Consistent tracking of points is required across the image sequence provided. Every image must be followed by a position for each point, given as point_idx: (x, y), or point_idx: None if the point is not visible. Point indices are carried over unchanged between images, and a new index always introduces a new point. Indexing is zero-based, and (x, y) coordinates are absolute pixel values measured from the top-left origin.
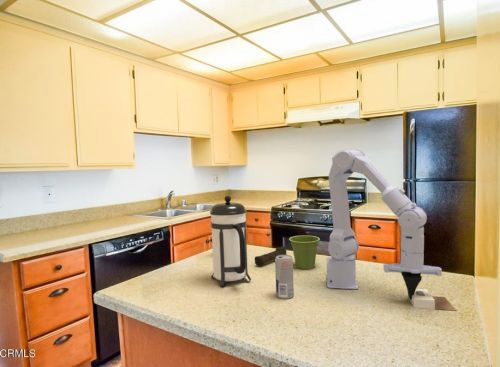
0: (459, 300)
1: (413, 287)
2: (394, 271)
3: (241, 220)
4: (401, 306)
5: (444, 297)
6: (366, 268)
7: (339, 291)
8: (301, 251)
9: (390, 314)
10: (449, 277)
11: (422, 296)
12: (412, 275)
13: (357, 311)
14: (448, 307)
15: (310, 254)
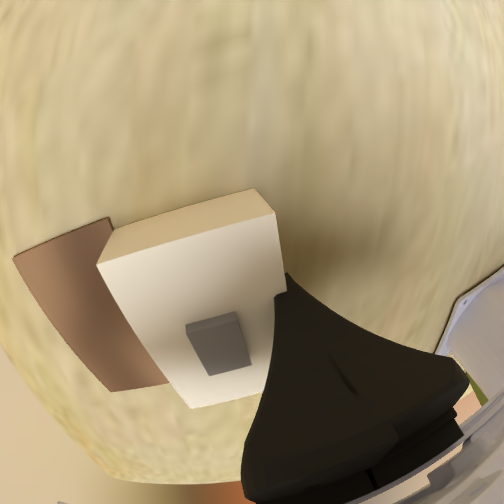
0: (55, 378)
1: (304, 341)
2: (499, 397)
3: None
4: (338, 177)
5: (108, 387)
6: None
7: (497, 253)
8: None
9: (397, 38)
10: (151, 474)
11: (201, 305)
12: (371, 463)
13: (489, 74)
14: (50, 281)
15: None
